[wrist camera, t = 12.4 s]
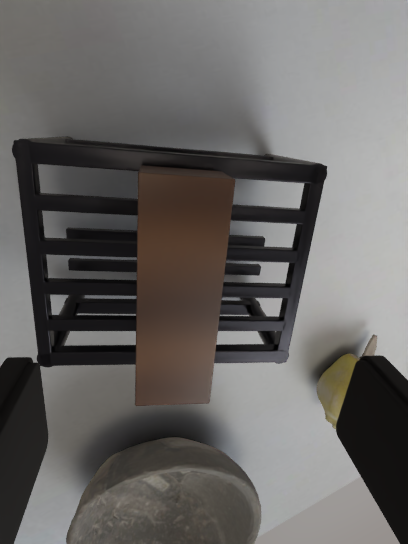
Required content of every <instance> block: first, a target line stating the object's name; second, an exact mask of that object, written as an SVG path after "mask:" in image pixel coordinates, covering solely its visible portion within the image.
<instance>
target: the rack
mask: <svg viewBox="0 0 408 544" xmlns="http://www.w3.org/2000/svg"><path fill="white" fill-rule="evenodd" d="M12 152H13V155H14V157H15V159H16V166H17V175H18V183H19V192H20V201H21V209H22V218H23V226H24V235H25V244H26V252H27V261H28V270H29V278H30V287H31V296H32V304H33V313H34V321H35V330H36V339H37V347H38V356H37V361H38V363H39V364H40V366H44V367H52V366H58V365H123V364H136V345H87V346H64V345H65V342H66V340H67V337H68V335H69V333H70V331H136V316H121V315H77V314H78V313H88V314H136V305H137V299H91V298H84V297H85V295H119V296H137V280H106V279H63V278H48V269H47V258H46V254H49V255H79V256H109V257H137V231H133V230H112V229H90V228H67V229H66V236H67V239H65V238H45V237H44V226H43V215H42V210H43V211H62V212H81V213H100V214H119V215H138V199H132V198H116V197H99V196H83V195H66V194H49V193H40V183H39V172H38V164H48V165H62V166H75V167H89V168H103V169H116V170H130V171H139V170H140V167H141V166H142V165H143V166H156V167H169V168H182V169H195V170H209V171H221V172H223V173H225V174H227V175H228V176H230V177H232V178H240V179H254V180H267V181H281V182H295V183H305V184H304V189H303V194H302V199H301V205H300V209H298V208H281V207H265V206H249V205H232V213H231V220H233V221H252V222H271V223H290V224H297V226H296V231H295V236H294V241H293V247H292V248H286V247H264V243H265V238H264V237H263V236H243V235H229V238H228V247H227V256H226V260H229V261H259V262H289V268H288V273H287V278H286V283H285V284H280V283H237V282H223V290H222V297H241V301H231V300H221V307H220V315H249V316H219V324H218V331H258V333H259V335H260V337H261V339H262V341H263V343H264V344H236V345H216V350H215V359H214V363H252V362H275V363H278V364H280V363H283V362H286V360H287V359H288V357H289V353H288V350H289V346H290V341H291V336H292V331H293V327H294V322H295V317H296V312H297V308H298V303H299V298H300V293H301V289H302V284H303V279H304V274H305V270H306V265H307V260H308V255H309V251H310V246H311V241H312V236H313V232H314V227H315V222H316V217H317V213H318V208H319V203H320V198H321V194H322V189H323V184H324V180H325V179H326V176H327V166H324V165H322V164H320V163H315V162H309V161H304V160H299V159H293V158H288V157H283V156H278V155H272V154H265V155H252V154H240V153H228V152H216V151H204V150H193V149H181V148H169V147H157V146H146V145H134V144H122V143H110V142H98V141H87V140H75V139H73V138H71V137H48V138H28V139H19V140H14V144H13V147H12ZM68 266H69V270H75V271H112V272H137V260H111V259H80V258H70V259H69V260H68ZM260 269H261V266H260V265H259V264H236V263H226V264H225V273H224V274H225V275H260ZM50 294H56V295H69V296H68V298H67V299H66V301H65V302H64V306H63V308H62V310H61V311H60V313H59V315H52V312H51V301H50ZM255 298H283V299H282V304H281V310H280V315H279V317H268V316H266V315H265V313H264V312H263V310H262V308H261V307H260V304H259V302H258V301H257V300H256V299H255Z"/></svg>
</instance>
